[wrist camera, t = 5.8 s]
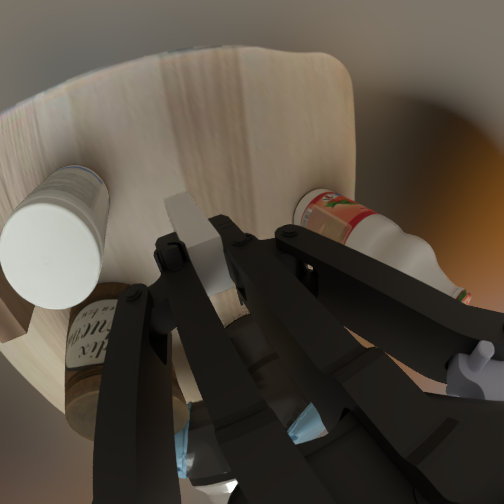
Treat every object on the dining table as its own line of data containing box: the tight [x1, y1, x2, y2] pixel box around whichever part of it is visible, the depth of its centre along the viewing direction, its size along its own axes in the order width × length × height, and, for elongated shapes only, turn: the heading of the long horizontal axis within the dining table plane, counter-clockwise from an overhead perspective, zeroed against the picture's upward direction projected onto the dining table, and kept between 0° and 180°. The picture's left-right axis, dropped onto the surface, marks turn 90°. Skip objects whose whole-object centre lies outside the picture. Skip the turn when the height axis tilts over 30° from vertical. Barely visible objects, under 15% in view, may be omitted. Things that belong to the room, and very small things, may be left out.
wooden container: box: [65, 283, 189, 441], centre depth 28 cm, size 15×15×22 cm
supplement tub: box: [0, 165, 109, 309], centre depth 21 cm, size 10×10×15 cm
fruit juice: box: [294, 189, 471, 305], centre depth 33 cm, size 9×9×28 cm
